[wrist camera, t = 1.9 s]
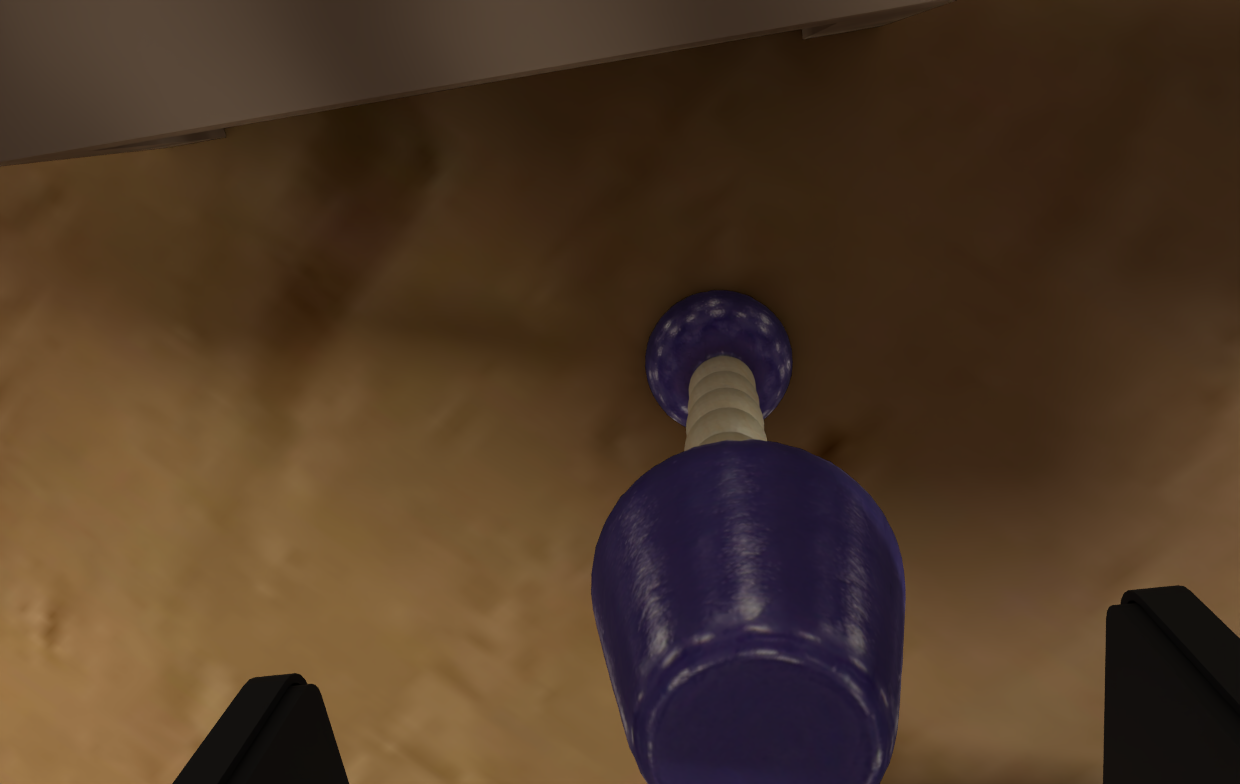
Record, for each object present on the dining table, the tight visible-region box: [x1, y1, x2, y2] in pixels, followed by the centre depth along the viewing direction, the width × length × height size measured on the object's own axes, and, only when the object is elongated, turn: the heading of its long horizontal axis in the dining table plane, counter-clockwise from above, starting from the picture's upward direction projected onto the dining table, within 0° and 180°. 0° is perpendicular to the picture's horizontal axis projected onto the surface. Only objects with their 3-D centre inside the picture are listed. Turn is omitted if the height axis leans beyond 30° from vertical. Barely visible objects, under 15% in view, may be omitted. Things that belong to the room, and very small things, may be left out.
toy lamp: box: [591, 290, 905, 784], centre depth 18 cm, size 5×5×17 cm
